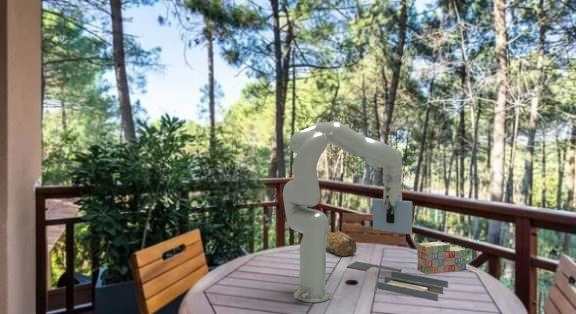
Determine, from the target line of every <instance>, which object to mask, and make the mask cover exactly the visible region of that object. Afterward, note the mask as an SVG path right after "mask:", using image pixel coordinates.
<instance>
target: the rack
mask: <svg viewBox="0 0 576 314" xmlns="http://www.w3.org/2000/svg"><path fill="white" fill-rule="evenodd" d="M390 276H391V277H390ZM390 276H384V282H381V281H377V282H376V288H377V289H379V290H385V291H390V292H394V293H398V294H402V295H407V296H413V297H416V298H421V299H426V300H431V301H435V302H438V301H439V294H440V295H443V294H444V288H447V289H448V288H449V281H448V280H442V279H438V278H437V279H436V278H431V277H426V276H420V275H416V274H410V273H404V272H398V271H392V270H391V275H390ZM389 281H395V282H400V283H406V284H411V285H416V286H421V287H426V288H427V292H426V291H421V290H416V289H411V288H406V287H402V286H397V285H392V284H387V283H388V282H389Z"/></svg>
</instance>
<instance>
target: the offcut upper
mask: <svg viewBox="0 0 576 314" xmlns="http://www.w3.org/2000/svg"><path fill="white" fill-rule="evenodd" d="M387 284H392V285H397V286H402V287H406V288H411V289H416V290H421V291H426V292H428V291H427V288H426V287H421V286H416V285H411V284H406V283H400V282H395V281H389V282H388V283H387Z"/></svg>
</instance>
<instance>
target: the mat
mask: <svg viewBox="0 0 576 314" xmlns="http://www.w3.org/2000/svg"><path fill="white" fill-rule="evenodd" d="M346 268H348V269H353V270H357V271H364V272H367V271H369V269H371V268H377V269H381V270H382V269H383V270H388V271H391V272H392V271H395V272H400V273H402V271H403V269H400V268H394V267H389V266H383V265H378V264H373V263H367V262H361V261H354V262H352V263H350V264H348V265H347V266H346Z"/></svg>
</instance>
